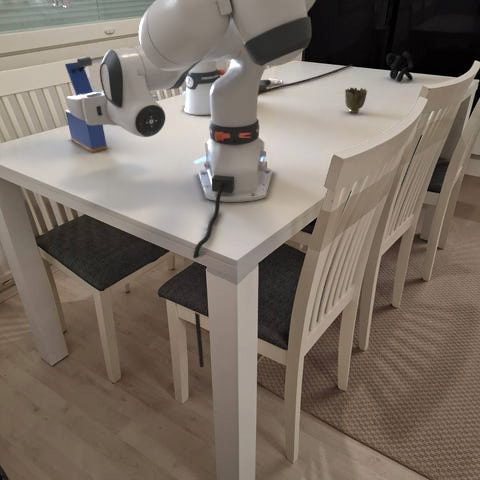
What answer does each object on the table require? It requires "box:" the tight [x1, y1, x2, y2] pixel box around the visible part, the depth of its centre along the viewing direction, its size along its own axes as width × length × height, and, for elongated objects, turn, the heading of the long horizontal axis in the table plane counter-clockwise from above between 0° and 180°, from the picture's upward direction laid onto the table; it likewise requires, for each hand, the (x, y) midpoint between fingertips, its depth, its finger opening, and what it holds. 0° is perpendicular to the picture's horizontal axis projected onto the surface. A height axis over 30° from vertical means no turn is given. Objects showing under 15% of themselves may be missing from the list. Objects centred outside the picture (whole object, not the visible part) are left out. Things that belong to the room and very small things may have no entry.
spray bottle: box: [258, 77, 284, 92], centre depth 191 cm, size 3×11×24 cm
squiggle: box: [385, 51, 414, 83], centre depth 198 cm, size 11×10×15 cm
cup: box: [344, 87, 368, 115], centre depth 156 cm, size 8×7×8 cm
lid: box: [64, 56, 94, 96], centre depth 121 cm, size 15×5×9 cm
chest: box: [64, 109, 108, 153], centre depth 134 cm, size 15×5×9 cm, turn 41°
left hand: (62, 5), depth 116 cm, fingers open, 8 cm apart
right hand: (100, 94), depth 114 cm, fingers open, 8 cm apart
